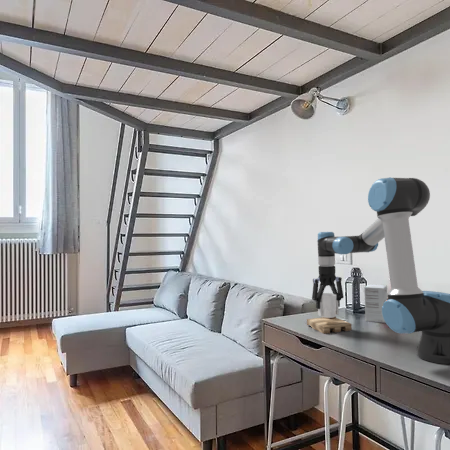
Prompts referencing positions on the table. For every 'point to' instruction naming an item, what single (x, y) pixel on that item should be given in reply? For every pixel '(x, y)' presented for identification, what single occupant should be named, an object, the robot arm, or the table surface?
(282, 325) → the table surface
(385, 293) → the supplement box
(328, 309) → the white cup
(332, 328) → the pallet dock
